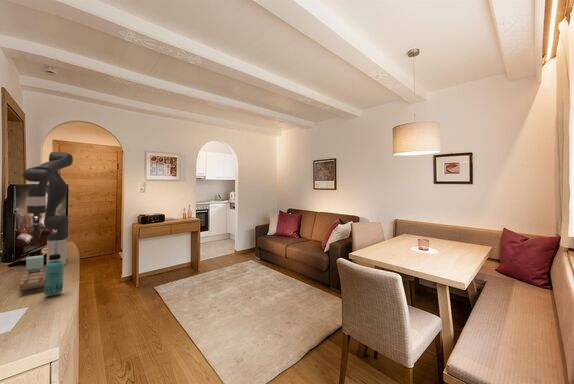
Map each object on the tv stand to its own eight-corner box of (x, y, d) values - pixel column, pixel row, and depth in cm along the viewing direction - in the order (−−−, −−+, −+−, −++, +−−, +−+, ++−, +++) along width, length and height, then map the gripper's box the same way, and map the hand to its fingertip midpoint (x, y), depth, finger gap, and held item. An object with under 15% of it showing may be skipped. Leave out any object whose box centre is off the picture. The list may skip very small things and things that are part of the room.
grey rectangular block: (26, 270, 131) (26, 257, 131) (43, 268, 135) (43, 255, 135) (25, 273, 127) (26, 259, 127) (43, 270, 132) (43, 257, 132)
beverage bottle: (41, 296, 115) (42, 255, 115) (59, 291, 121) (60, 252, 121) (47, 300, 112) (48, 257, 112) (65, 294, 118) (66, 254, 118)
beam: (21, 282, 131) (21, 268, 131) (47, 278, 138) (47, 264, 138) (17, 297, 114) (18, 281, 114) (47, 291, 121) (47, 276, 121)
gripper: (27, 203, 138) (27, 232, 138) (26, 205, 128) (25, 236, 128) (46, 203, 143) (45, 231, 143) (46, 205, 133) (45, 235, 133)
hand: (36, 233), depth 136 cm, fingers open, 7 cm apart
